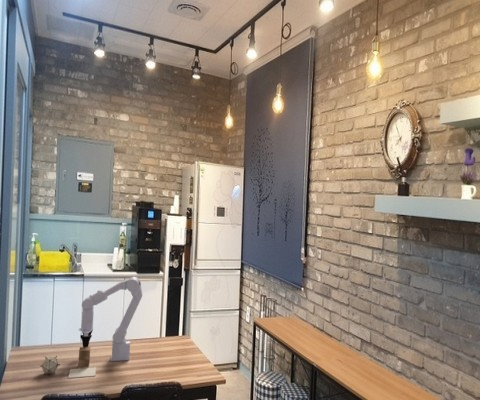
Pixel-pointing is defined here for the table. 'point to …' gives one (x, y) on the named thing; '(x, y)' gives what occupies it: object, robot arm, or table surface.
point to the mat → (82, 372)
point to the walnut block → (84, 357)
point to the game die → (50, 365)
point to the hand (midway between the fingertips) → (86, 345)
